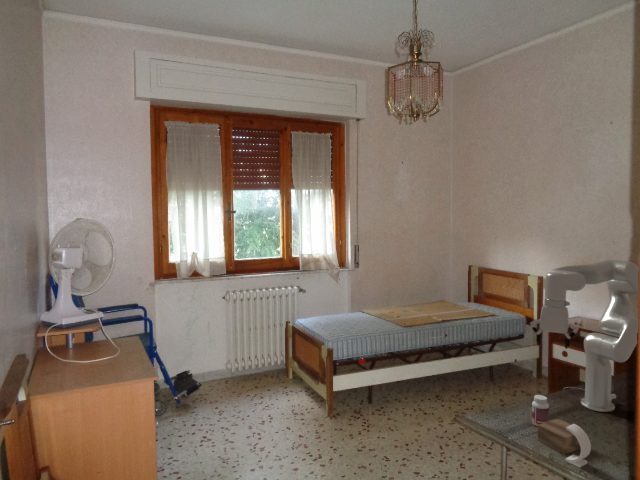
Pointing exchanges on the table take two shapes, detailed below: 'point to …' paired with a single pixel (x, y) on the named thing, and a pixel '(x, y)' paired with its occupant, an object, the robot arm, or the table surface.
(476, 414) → the table surface
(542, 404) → the pill bottle
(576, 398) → the table surface
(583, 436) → the headphone stand
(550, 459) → the table surface
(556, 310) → the robot arm
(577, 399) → the table surface
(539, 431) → the walnut block
